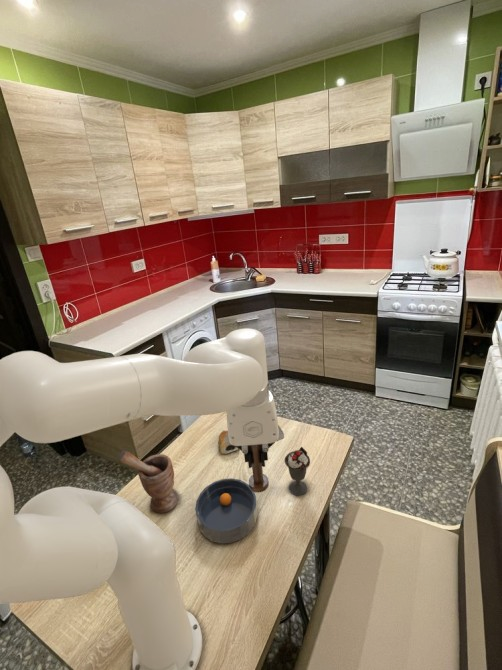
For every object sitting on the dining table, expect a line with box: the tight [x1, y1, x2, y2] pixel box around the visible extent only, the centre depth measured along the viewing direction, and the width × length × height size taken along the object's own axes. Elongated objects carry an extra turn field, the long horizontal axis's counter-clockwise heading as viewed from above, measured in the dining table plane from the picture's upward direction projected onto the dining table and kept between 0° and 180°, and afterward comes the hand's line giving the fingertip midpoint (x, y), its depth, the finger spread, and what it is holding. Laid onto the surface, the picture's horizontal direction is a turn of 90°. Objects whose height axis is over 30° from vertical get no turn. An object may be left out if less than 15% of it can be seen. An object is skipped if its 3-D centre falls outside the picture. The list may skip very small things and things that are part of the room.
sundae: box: [284, 446, 311, 496], centre depth 91 cm, size 7×7×15 cm
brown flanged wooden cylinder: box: [248, 444, 270, 493], centre depth 75 cm, size 4×4×12 cm
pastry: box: [217, 430, 239, 455], centre depth 112 cm, size 9×7×4 cm
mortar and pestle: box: [117, 450, 179, 514], centre depth 89 cm, size 12×9×20 cm
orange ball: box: [220, 493, 231, 506], centre depth 91 cm, size 3×3×3 cm
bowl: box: [194, 478, 259, 544], centre depth 87 cm, size 15×15×5 cm
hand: (256, 462), depth 75 cm, fingers closed on brown flanged wooden cylinder, 2 cm apart
